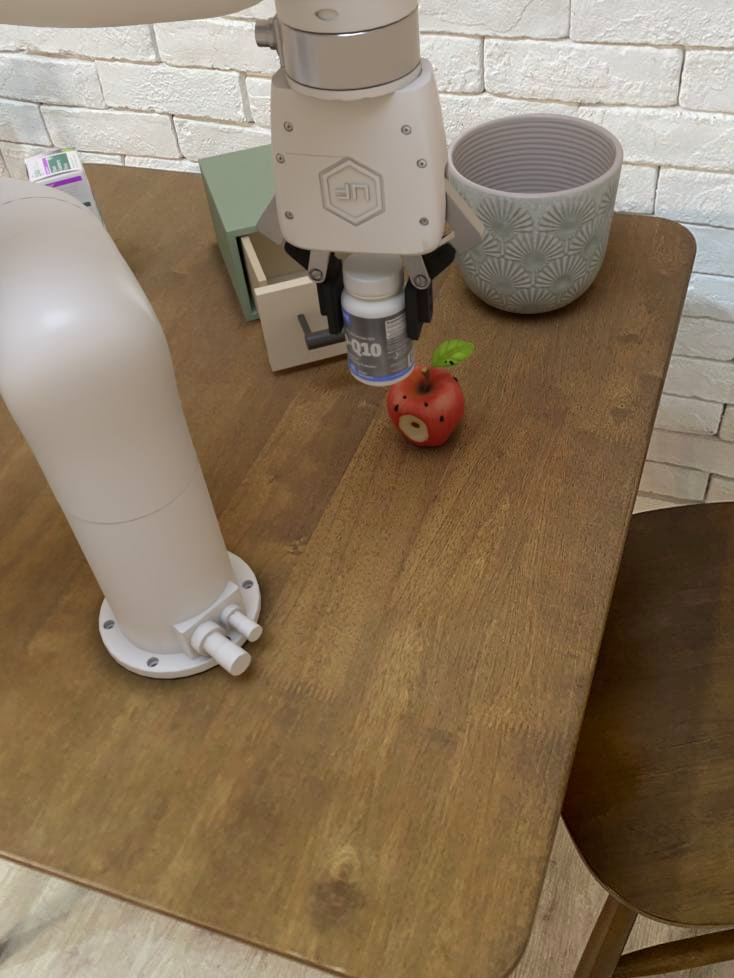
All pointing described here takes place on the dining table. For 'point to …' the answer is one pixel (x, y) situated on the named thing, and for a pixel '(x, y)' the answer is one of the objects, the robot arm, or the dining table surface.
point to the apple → (430, 397)
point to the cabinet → (238, 206)
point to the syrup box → (63, 175)
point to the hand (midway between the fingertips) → (378, 323)
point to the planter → (536, 207)
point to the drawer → (287, 304)
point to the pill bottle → (376, 319)
